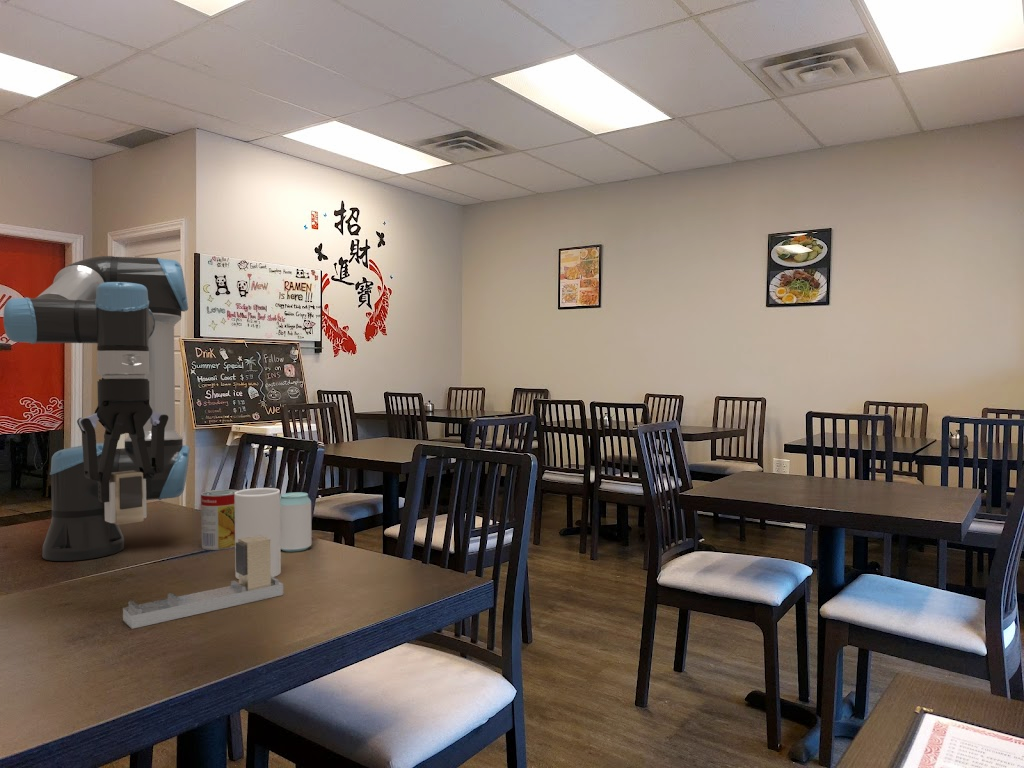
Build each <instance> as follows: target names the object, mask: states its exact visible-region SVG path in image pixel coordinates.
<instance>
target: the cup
mask: <svg viewBox="0 0 1024 768" xmlns="http://www.w3.org/2000/svg"><path fill="white" fill-rule="evenodd" d="M280 498H281V490H280V489H279V488H275V487H257V488H254V487H252V488H246V489H240V490H238V491H236V492H235V547H234V560H235V563H234V568H235V574H234V575H235V578H236V579H238V580H239V573H237V572H236V543H238V539H241V538H247V537H253V536H260V535H261V536H264V537H266V538H269V539H270V556H271V576H272V577H274V578H276V577H277V576H280V574H281V573H282V569H281V568H282V565H281V564H282V559H281V557H282V556H281V555H282V554H281V550H282V549H281V541H280Z"/></svg>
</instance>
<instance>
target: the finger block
mask: <svg viewBox="0 0 1024 768" xmlns="http://www.w3.org/2000/svg"><path fill="white" fill-rule="evenodd" d="M110 481H112V482H115V497H116V522H115V523H113V524H116V525H119V526H120V525H126V524H127V525H128V524H131V523H133V524H134V523H138V522H139V523H140V522H144V518H143V473H142V472H138V471H123V472H113V473H111V478H110Z"/></svg>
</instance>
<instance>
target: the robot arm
mask: <svg viewBox="0 0 1024 768" xmlns="http://www.w3.org/2000/svg"><path fill="white" fill-rule="evenodd" d="M185 283H186V282H185V277H184V272H183V267H182V265H181V263H180V262H179V261H177V260H174V259H167V258H160V257H135V256H134V257H133V256H113V255H106V256H105V255H104V256H102V255H101V256H95V257H90V258H86V259H85V258H84V259H82V260H79V261H76V262H72V263H70V264H68V265H66V266H65V267H63V268H62V269H60V270H59V271H58V272H57V274H56V275H55V276H54V278H53V282H52V284H51V285H50V286H48V287H47V288H46V289H44V290H43V291H42V292H40V294H39V295H38V296H36V297H35V298H33V297H27V296H26V297H19V298H18V297H16V298H14V297H13V298H9V299H8V300H7V301H6V302H5V304H4V308H3V329H4V331H5V335H6V337H7V338H8V340H9V341H11V342H13V343H28V344H29V343H30V344H31V345H34V344H97V347H96V353H97V354H96V357H97V358H96V364H97V365H96V374H97V375H98V376H101V378H100V379H98V380H97V407H96V408H95V411H94V413H93V414H91V415H87V416H85V417H79V418H78V419H77V421H76V423H77V425H78V427H79V430H80V431H81V440H82V441H81V442H82V445H78V446H77V445H76V446H72V447H68V448H63V449H59V450H58V451H56V452H54V454H53V455H52V456H51V461H50V472H49V475H50V488H51V489H50V491H51V492H50V494H51V496H50V497H51V498H50V499H51V522H50V524H49V526H48V530H47V532H46V535H45V539H44V542H43V544H42V547H41V549H42V556H41V557H42V558H43V559H44V560H46V561H51V562H52V561H53V562H71V561H73V562H75V561H82V560H84V561H85V560H91V559H96V558H102V557H106V556H110V555H114V554H117V553H119V552H121V551H123V550H124V549H125V538H124V537H125V536H124V535H123V533H122V530H121V527H120V525H116V524H113V523H115V522H116V497H115V482H112V481H110V478H111V473H113V472H123V471H138V472H142V473H143V519H146V518H147V501H150V500H151V501H152V500H158V501H162V500H165V499H175V498H178V497H180V496H182V494H184V491H185V487H186V481H187V476H188V469H189V460H190V450H191V449H190V446H189V445H186V444H183V437H182V436H181V435H180V434H179V433H178V432H177V431H176V400H175V399H176V397H175V395H176V393H175V389H176V388H175V387H176V386H175V385H176V384H175V383H176V382H175V371H176V370H175V326H176V324H178V323H180V321H181V320H182V312H187V311H188V310H189V306H188V305H189V303H188V297H187V296H188V295H187V291H186V284H185ZM97 422H99V423H100V424H101V426H103V428H104V429H105V430H104V435H103V442H97V434H96V433H97V432H96V429H97V427H98V424H97ZM125 434H128V436H127V437H126V438H124V448H118V443H119V441H120V438H121V435H125Z"/></svg>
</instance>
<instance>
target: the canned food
mask: <svg viewBox="0 0 1024 768" xmlns="http://www.w3.org/2000/svg"><path fill="white" fill-rule="evenodd" d="M236 491H239V490H238V489H228V488H227V489H213V490H208V491H203V492H201V493H200V503H201V504H200V508H201V509H200V512H201V513H200V517H201V518H200V519H201V522H200V523H201V527H200V528H201V529H200V530H201V548H202V549H203V550H208V551H220V550H228V549H232V548H235V492H236Z"/></svg>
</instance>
